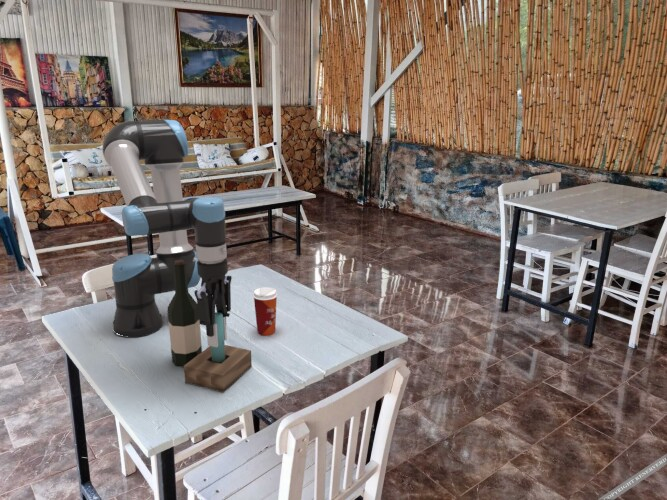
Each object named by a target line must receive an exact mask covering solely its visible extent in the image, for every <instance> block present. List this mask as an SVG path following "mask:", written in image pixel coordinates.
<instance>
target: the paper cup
mask: <svg viewBox="0 0 667 500" xmlns="http://www.w3.org/2000/svg"><path fill="white" fill-rule="evenodd" d="M278 295H279V294H278V293H277V289H275V288H273V287H265V286H264V287H259V288H256V289H255V290H254V292H253V294H252V297H253V303H254V309H255V311H254V312H255V321H256V322H255V323H256V330H257V334H258V335H260V336H263V337H264V336H265V337H269V336H272V335H275V334H276V325H277V324H276V323H277V322H276V321H277V297H278Z"/></svg>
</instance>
